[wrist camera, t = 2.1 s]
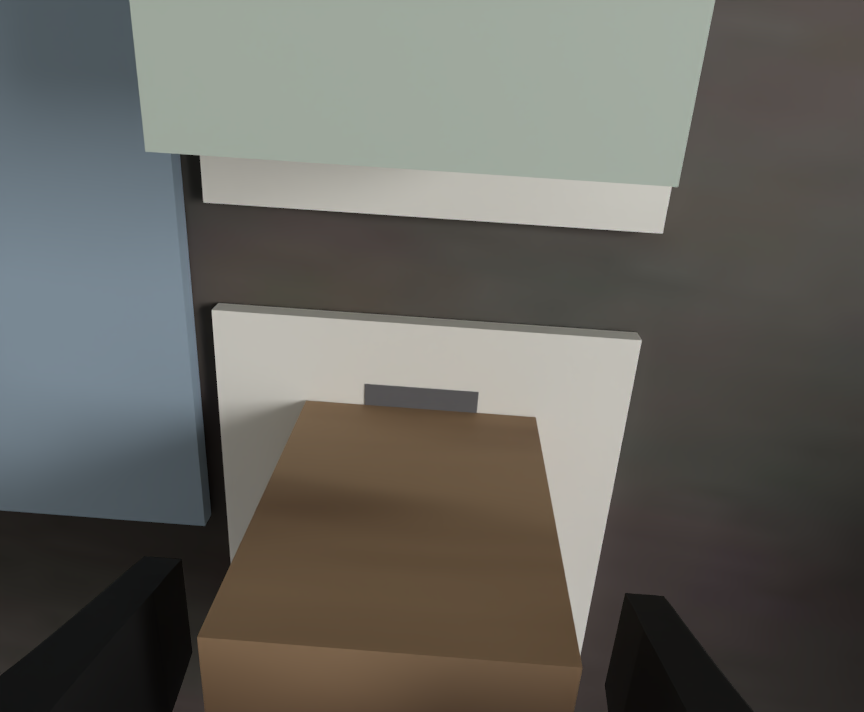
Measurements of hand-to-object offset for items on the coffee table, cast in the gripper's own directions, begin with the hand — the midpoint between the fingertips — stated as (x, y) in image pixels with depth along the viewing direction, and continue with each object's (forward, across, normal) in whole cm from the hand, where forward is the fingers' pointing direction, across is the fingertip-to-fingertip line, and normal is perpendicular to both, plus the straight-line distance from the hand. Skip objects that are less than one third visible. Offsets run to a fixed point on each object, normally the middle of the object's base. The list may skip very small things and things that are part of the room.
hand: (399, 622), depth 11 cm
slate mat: (+4, +8, -5) cm, 10 cm away
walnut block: (+3, 0, 0) cm, 3 cm away
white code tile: (+4, 0, 0) cm, 4 cm away
